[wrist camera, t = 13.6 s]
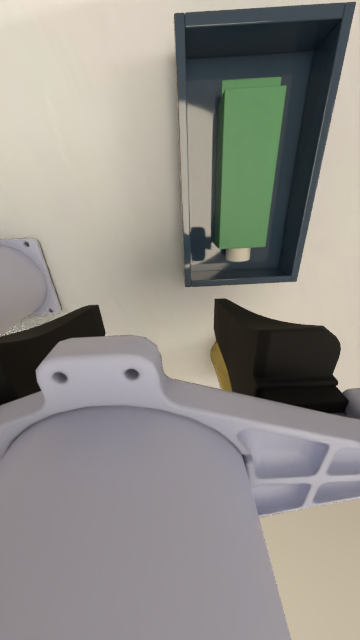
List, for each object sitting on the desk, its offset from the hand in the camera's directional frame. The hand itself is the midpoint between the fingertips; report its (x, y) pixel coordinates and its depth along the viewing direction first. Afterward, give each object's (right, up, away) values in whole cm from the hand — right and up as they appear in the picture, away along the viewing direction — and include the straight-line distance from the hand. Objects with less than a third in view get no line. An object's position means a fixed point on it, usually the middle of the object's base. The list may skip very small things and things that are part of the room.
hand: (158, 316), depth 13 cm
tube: (+6, +12, +5) cm, 14 cm away
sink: (+6, +12, +6) cm, 15 cm away
